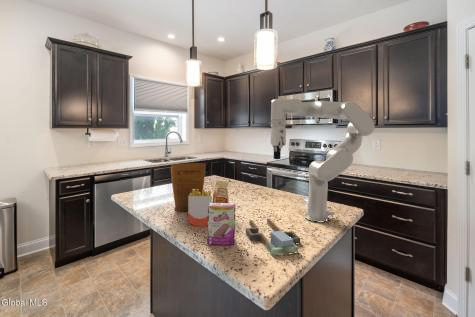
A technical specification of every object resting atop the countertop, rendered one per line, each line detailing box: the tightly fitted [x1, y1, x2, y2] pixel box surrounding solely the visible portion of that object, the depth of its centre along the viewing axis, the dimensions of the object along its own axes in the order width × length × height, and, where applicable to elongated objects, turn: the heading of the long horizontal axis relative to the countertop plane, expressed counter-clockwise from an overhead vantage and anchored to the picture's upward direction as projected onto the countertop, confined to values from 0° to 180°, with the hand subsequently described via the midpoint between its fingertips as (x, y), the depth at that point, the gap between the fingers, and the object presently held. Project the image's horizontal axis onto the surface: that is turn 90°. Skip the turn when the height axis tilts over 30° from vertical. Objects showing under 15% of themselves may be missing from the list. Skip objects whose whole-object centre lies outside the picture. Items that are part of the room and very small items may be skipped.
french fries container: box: [187, 188, 213, 227], centre depth 118 cm, size 5×11×18 cm, turn 91°
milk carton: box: [212, 179, 230, 203], centre depth 131 cm, size 9×9×20 cm
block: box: [269, 230, 293, 248], centre depth 96 cm, size 5×9×5 cm, turn 19°
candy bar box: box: [206, 202, 236, 246], centre depth 99 cm, size 11×5×16 cm, turn 92°
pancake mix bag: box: [170, 162, 206, 213], centre depth 138 cm, size 7×19×28 cm, turn 96°
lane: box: [245, 218, 301, 257], centre depth 106 cm, size 19×31×2 cm, turn 13°
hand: (276, 158), depth 127 cm, fingers closed
